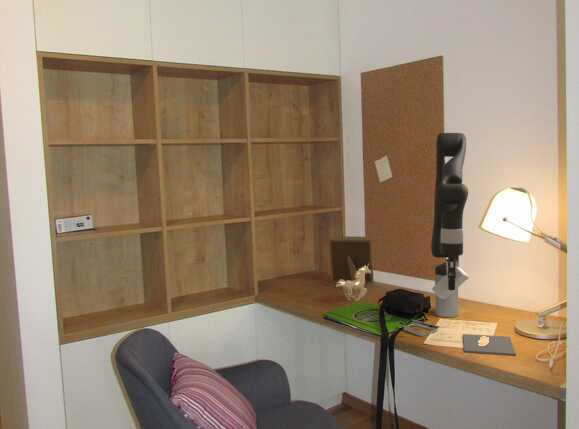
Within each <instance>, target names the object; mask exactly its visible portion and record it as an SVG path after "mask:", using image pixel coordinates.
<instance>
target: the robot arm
mask: <svg viewBox="0 0 579 429" xmlns="http://www.w3.org/2000/svg"><path fill="white" fill-rule="evenodd" d="M435 142H436V144H435V145H436V146H435V151H436V152H435V157H436V158H435V159H436V160H435V164H436V166H435V168H436V170H435V172H436V173H435V184H434V185H435V187H434V200H433V201H434V202H433V204H434V205H433V206H434V208H433V209H434V210H433V224H432V233H431V234H432V235H431V244H430V245H431V246H430V248H431V250H430V251H431V254H432V256H433V257H434V258H439V259H441V258H445V262H444V263H440V264H438V265H436V266H435V268H434V286H435V285H436V284H437V283H438V282H439V281H440V280H441V279H442V278H443V277H445V276H446V275H447V274H448V289H449V290H455V279H456V276H455V274H456V273H457V267H459V268H460V266H459V264H460V260H459V259H460V257H461V256H462V255H464V232H463V230H464V229H463V221H464V220H463V216H464V209H465V205H466V203H467V200H468V197H469V189H468V187H467V185H466V184H465V183H463V168H464V163H465V158H466V151H467V138H466V135H465V134H464V133H461V132H440V133H438V134H437V137H436V141H435ZM447 157H448V158H450V159H449V160H448V161H447V162H446V161H445V160H446V159H445V158H447ZM450 273H453V274H454V275H450V276H449V274H450ZM434 314H435V315H436V316H438V317H442V318H454V317H457V316H458V315H459V287H458V288H457V289H456V290H455V291H454V292H453V293H451V294H450V295H449V296H448V297H447V298H446V299H442V298H439V297H438V296H437V295H436V294H435V293H434Z"/></svg>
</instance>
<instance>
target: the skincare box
mask: <svg viewBox="0 0 579 429" xmlns="http://www.w3.org/2000/svg"><path fill="white" fill-rule="evenodd" d="M450 275H454V274H453V273H450V274H449V276H450ZM455 276H456V279H455V290H456V289H457V288H458V289H459V287H460V286H462V285H463V284H464V283H465V282H466V281H467V280H468V279H469V278H470V276H469V275H468V274H467V273H466V272H465V271H464V270H463V268H461V267H460V266H459V267H457V273H456V274H455ZM455 290H449V289H448V274H447V275H446V276H445V277H443V278H442V279H441V280H440V281H439V282H438V283H437V284H436V285H435V284H434V285H433V286H432V288H431V291H433V293H434V295H435V294H436V295H437V296H438V297H439V298H442V299H446V298H447V297H448V296H449V295H450V294H451V293H453V292H454V291H455Z"/></svg>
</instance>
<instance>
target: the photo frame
mask: <svg viewBox="0 0 579 429" xmlns="http://www.w3.org/2000/svg"><path fill="white" fill-rule="evenodd" d="M328 246H329V248H328V249H329V262H330V264H329V265H330V277H331V278H330V279H331V283H334V284H338V283H337V282H338V281H339V280H341V279H343V280H345V281H347V280H350V281H355V280H356V279H355V278H356V277H354V276H356V275H355V274H356V272H357V271H358V269H360V268H361V267H364V265H365V266H368V269H369V270H371V273H370V274H369V273H365V284H364V285H366V284H367V285H373V283H374V281H375V280H374V259H373V255H374V254H373V253H374V252H373V236H349V235H347V236H345V235H344V236H340V235H339V236H334V235H333V236H332V235H331V236H329V238H328ZM368 263H369V265H368Z"/></svg>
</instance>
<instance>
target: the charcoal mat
mask: <svg viewBox="0 0 579 429" xmlns="http://www.w3.org/2000/svg"><path fill="white" fill-rule="evenodd" d="M462 336H463V338H462V340H463V339H464V340H463V352H464V353H469V354H470V353H472V354H487V355H501V356H502V355H503V356H516V350H515V349H514V345H513V342H512V339H511V336H505V335H503V336H502V335H490V334H489V335H487V334H486V335H483V334H471V333H469V334H468V333H462ZM482 336H486V337H489V343H488V344H487V345H485V346H479V345H478V344H479V343H478V340H480V337H482Z"/></svg>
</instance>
